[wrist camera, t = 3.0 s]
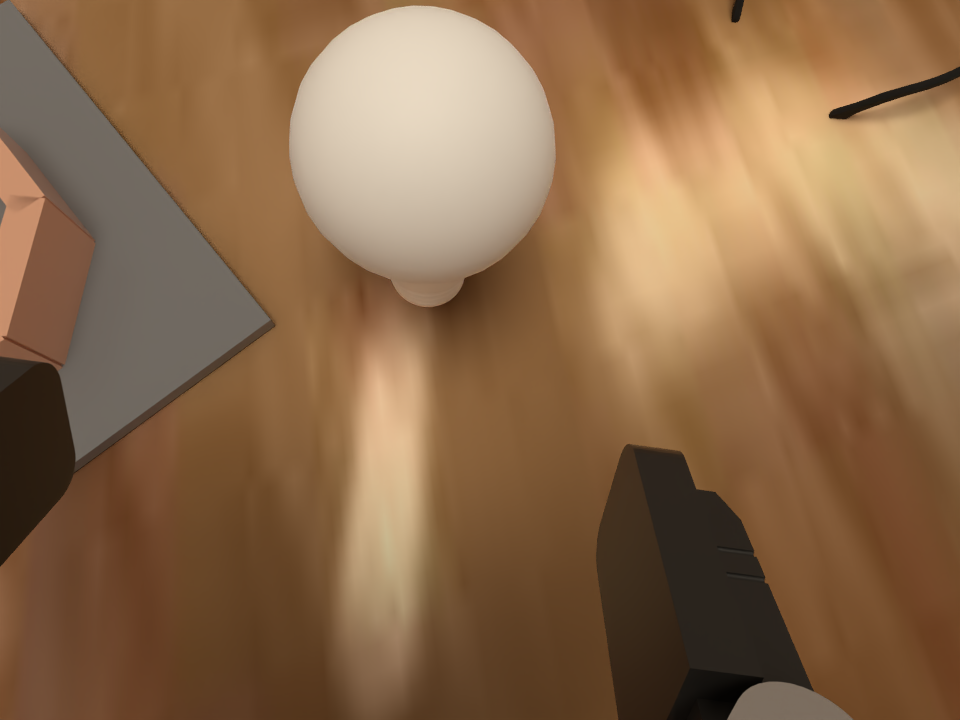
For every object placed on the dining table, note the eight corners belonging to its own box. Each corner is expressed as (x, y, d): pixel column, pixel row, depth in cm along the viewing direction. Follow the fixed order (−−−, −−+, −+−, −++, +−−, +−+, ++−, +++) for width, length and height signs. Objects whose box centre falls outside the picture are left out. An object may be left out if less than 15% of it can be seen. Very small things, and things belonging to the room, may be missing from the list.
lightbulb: (319, 227, 24) (225, -30, 13) (483, 183, 25) (519, -91, 14) (367, 388, 22) (305, 246, 12) (539, 336, 23) (627, 159, 13)
